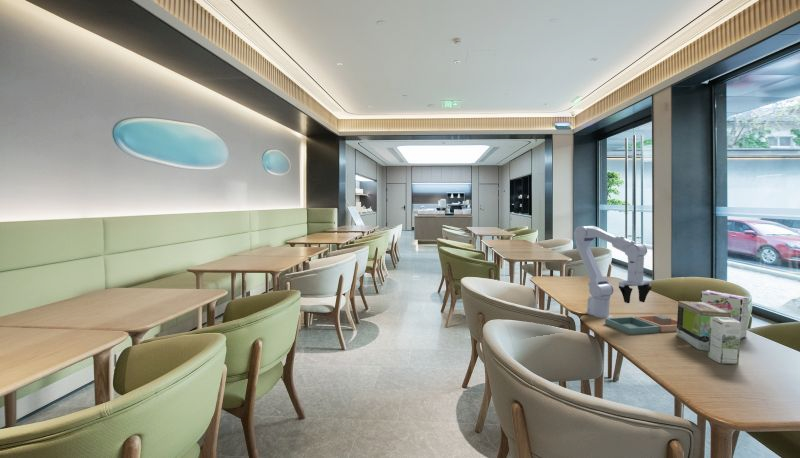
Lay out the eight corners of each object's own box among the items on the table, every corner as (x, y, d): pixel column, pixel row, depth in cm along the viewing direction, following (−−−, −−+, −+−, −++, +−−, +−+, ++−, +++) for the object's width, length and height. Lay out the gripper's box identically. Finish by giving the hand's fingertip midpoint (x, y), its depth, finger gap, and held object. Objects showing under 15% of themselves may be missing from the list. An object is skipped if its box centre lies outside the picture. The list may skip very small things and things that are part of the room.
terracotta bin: (634, 323, 161) (634, 316, 161) (660, 321, 164) (660, 314, 164) (661, 333, 148) (661, 326, 148) (689, 331, 150) (689, 324, 150)
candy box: (698, 329, 153) (700, 291, 152) (705, 327, 156) (707, 289, 155) (739, 339, 141) (742, 298, 140) (747, 337, 143) (749, 296, 142)
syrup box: (725, 357, 124) (727, 316, 123) (739, 365, 118) (741, 321, 118) (707, 356, 125) (709, 315, 124) (720, 364, 119) (723, 321, 118)
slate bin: (605, 325, 159) (605, 318, 158) (631, 323, 161) (632, 316, 161) (630, 335, 145) (630, 328, 145) (658, 333, 148) (659, 326, 148)
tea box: (730, 352, 128) (732, 312, 128) (698, 350, 130) (700, 310, 130) (703, 337, 143) (705, 301, 142) (675, 336, 145) (676, 299, 144)
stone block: (652, 324, 158) (653, 315, 157) (660, 323, 158) (660, 314, 158) (663, 328, 153) (663, 318, 152) (671, 327, 153) (671, 318, 153)
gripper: (628, 273, 151) (627, 305, 152) (657, 272, 154) (656, 303, 155) (615, 270, 158) (614, 301, 159) (643, 269, 161) (642, 299, 162)
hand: (634, 302), depth 157 cm, fingers open, 7 cm apart
